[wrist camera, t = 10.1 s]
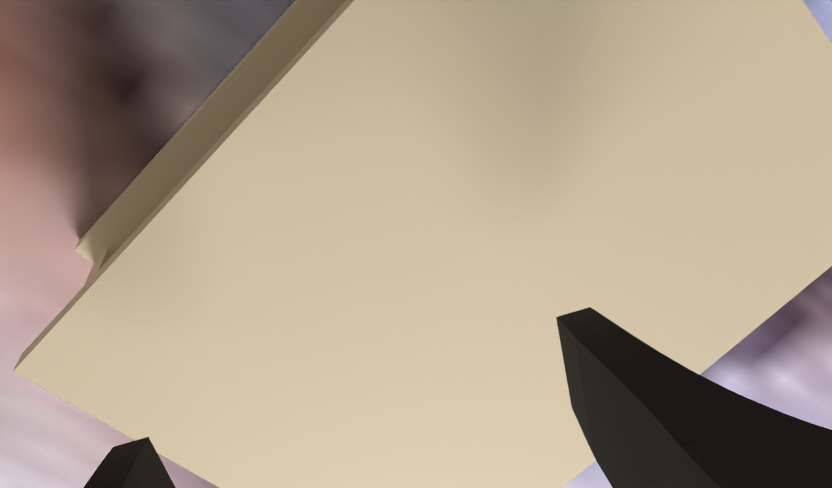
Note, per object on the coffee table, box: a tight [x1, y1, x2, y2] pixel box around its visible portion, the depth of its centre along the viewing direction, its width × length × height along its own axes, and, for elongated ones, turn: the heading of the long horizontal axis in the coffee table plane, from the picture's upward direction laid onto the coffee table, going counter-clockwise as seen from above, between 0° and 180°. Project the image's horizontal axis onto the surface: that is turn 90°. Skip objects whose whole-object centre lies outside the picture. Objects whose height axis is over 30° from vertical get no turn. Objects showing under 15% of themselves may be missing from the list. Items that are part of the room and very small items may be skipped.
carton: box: [13, 0, 832, 488], centre depth 19 cm, size 16×12×6 cm
